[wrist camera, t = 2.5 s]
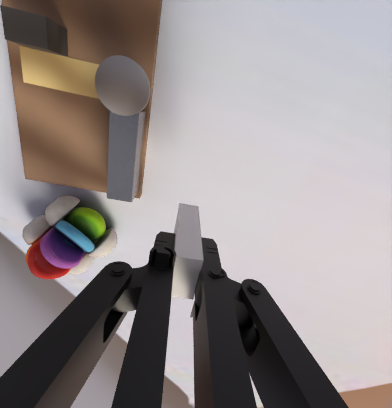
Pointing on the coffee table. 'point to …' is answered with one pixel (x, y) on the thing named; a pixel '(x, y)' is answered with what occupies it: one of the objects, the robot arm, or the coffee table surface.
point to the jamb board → (78, 81)
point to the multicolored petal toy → (66, 239)
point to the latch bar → (124, 155)
